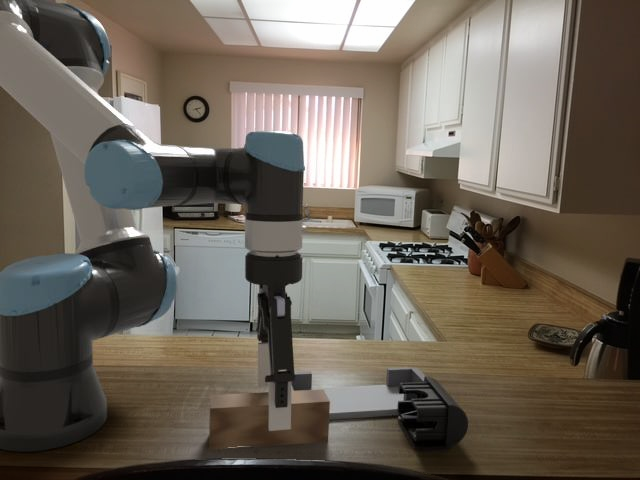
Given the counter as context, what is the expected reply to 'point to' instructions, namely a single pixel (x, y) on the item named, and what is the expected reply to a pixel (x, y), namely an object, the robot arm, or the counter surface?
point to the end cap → (431, 416)
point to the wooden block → (253, 415)
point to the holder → (364, 394)
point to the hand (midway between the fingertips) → (272, 405)
